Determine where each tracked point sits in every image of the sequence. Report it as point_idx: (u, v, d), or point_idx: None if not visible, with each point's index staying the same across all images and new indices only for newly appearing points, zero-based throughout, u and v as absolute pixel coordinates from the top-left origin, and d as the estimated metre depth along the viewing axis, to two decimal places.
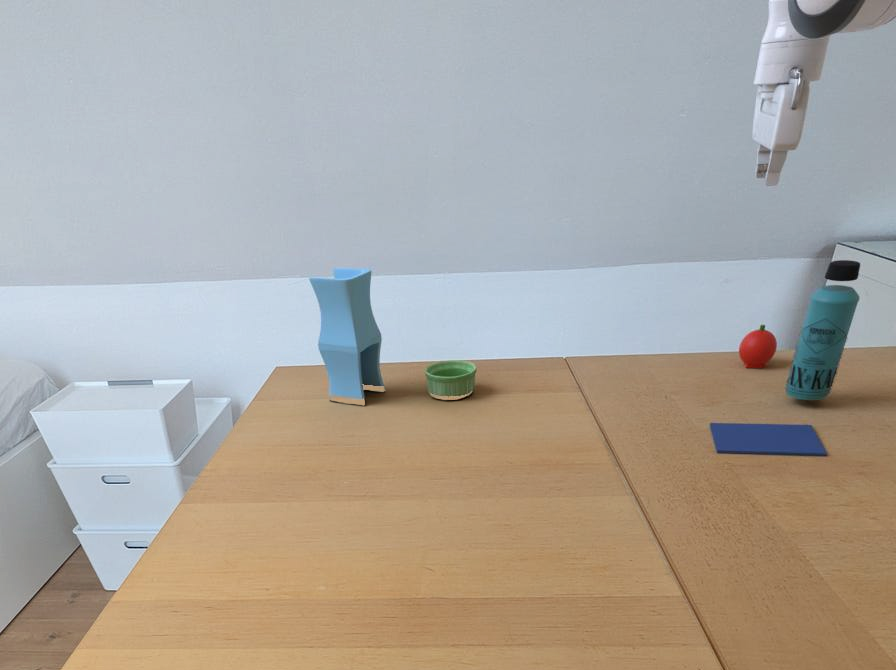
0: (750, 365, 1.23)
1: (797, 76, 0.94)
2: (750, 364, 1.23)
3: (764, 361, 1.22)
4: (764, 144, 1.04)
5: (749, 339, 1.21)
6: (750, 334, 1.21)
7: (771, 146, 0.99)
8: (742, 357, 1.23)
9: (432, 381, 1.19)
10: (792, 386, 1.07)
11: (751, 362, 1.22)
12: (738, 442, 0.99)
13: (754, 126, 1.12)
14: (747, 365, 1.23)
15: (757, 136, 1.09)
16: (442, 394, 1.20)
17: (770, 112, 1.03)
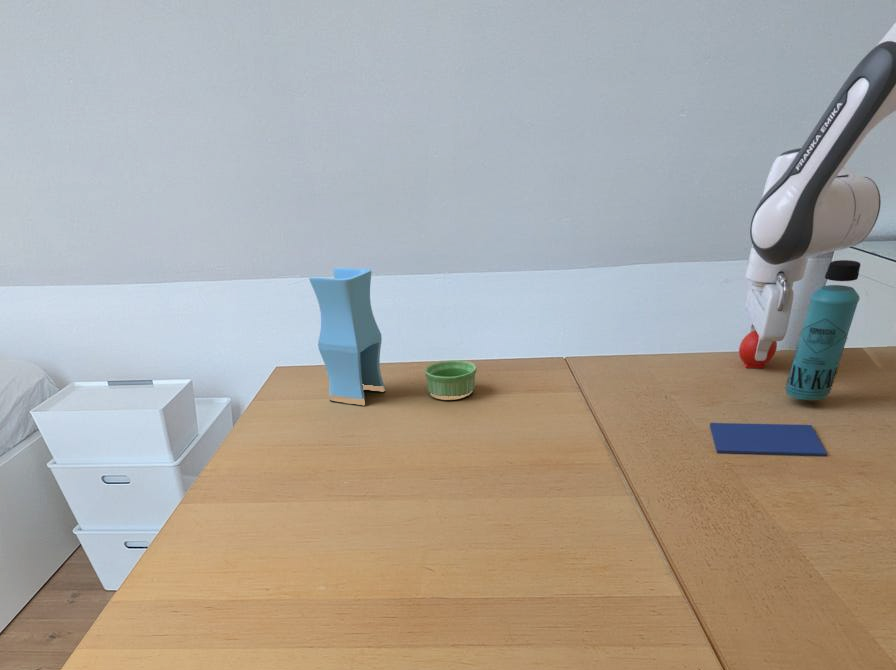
0: (750, 365, 1.23)
1: (783, 284, 1.08)
2: (750, 364, 1.23)
3: (764, 361, 1.22)
4: (755, 328, 1.18)
5: (749, 339, 1.21)
6: (750, 334, 1.21)
7: (760, 337, 1.13)
8: (742, 357, 1.23)
9: (432, 381, 1.19)
10: (792, 386, 1.07)
11: (751, 362, 1.22)
12: (738, 442, 0.99)
13: (747, 300, 1.26)
14: (747, 365, 1.23)
15: (749, 313, 1.23)
16: (442, 394, 1.20)
17: (760, 301, 1.17)
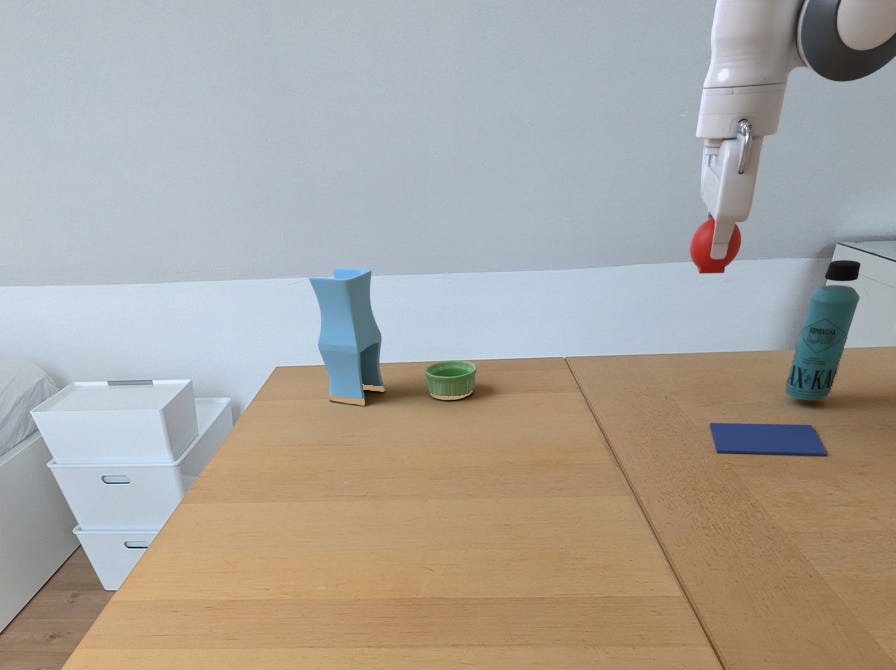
0: (705, 269, 0.89)
1: (744, 132, 0.74)
2: (705, 267, 0.89)
3: (724, 262, 0.87)
4: (709, 210, 0.84)
5: (702, 230, 0.87)
6: (704, 224, 0.87)
7: (715, 217, 0.79)
8: (694, 258, 0.89)
9: (432, 381, 1.19)
10: (792, 386, 1.07)
11: (706, 264, 0.88)
12: (738, 442, 0.99)
13: (702, 183, 0.92)
14: (701, 269, 0.89)
15: (704, 197, 0.89)
16: (442, 394, 1.20)
17: (716, 171, 0.83)
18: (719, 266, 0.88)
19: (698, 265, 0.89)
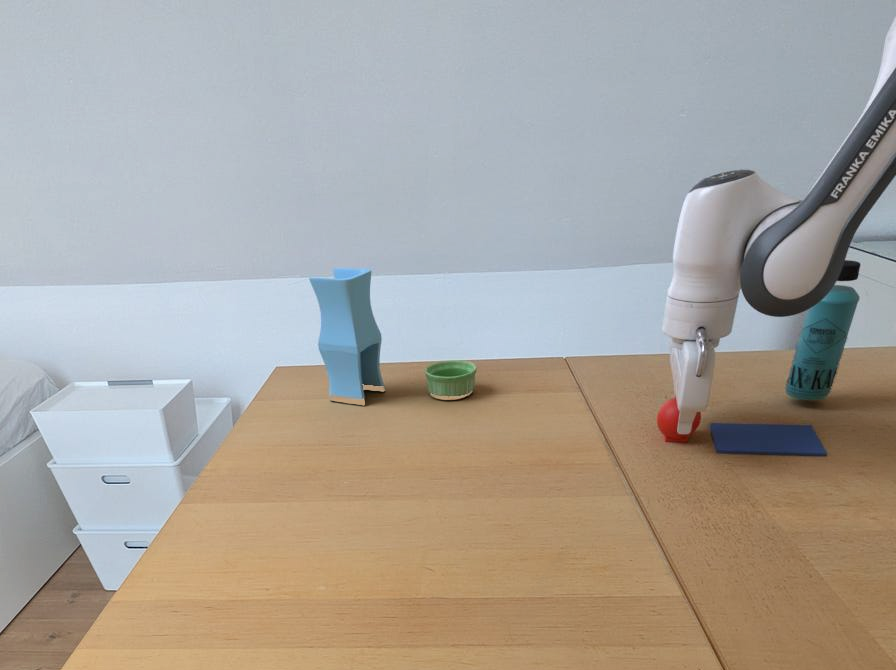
0: (670, 438, 1.01)
1: (701, 345, 0.86)
2: (670, 437, 1.01)
3: (686, 435, 1.00)
4: (675, 392, 0.96)
5: (666, 408, 0.99)
6: (668, 402, 0.99)
7: (678, 406, 0.91)
8: (660, 429, 1.01)
9: (432, 381, 1.19)
10: (792, 386, 1.07)
11: (670, 435, 1.00)
12: (738, 442, 0.99)
13: (671, 354, 1.04)
14: (666, 438, 1.02)
15: (672, 370, 1.01)
16: (442, 394, 1.20)
17: (680, 360, 0.95)
18: (682, 437, 1.01)
19: (664, 435, 1.02)
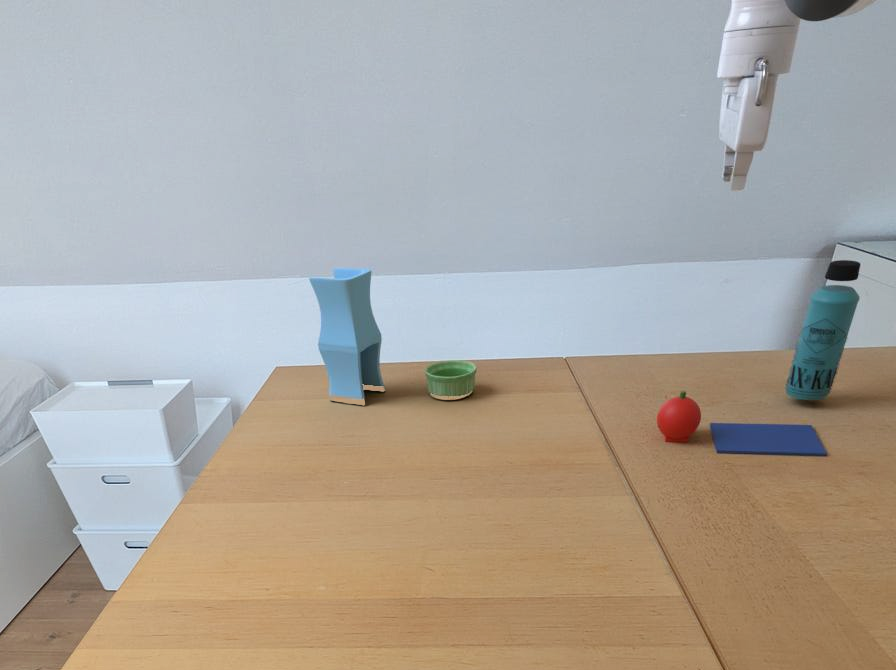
0: (670, 438, 1.01)
1: (762, 68, 0.84)
2: (670, 437, 1.01)
3: (686, 435, 1.00)
4: (729, 144, 0.94)
5: (666, 408, 0.99)
6: (668, 402, 0.99)
7: (735, 146, 0.89)
8: (660, 429, 1.01)
9: (432, 381, 1.19)
10: (792, 386, 1.07)
11: (670, 435, 1.00)
12: (738, 442, 0.99)
13: (721, 125, 1.02)
14: (666, 438, 1.02)
15: (723, 135, 0.99)
16: (442, 394, 1.20)
17: (735, 109, 0.93)
18: (682, 437, 1.01)
19: (664, 435, 1.02)
